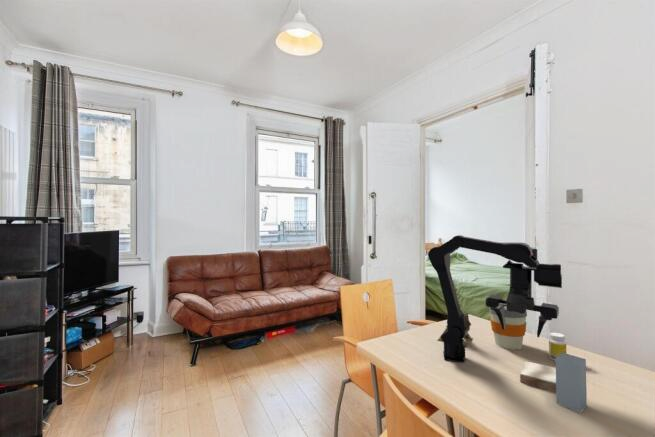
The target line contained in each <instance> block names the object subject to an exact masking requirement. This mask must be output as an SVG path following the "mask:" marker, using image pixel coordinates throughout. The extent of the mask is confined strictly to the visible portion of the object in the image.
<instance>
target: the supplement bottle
mask: <svg viewBox="0 0 655 437" xmlns="http://www.w3.org/2000/svg"><path fill="white" fill-rule="evenodd" d="M549 334H550V335H549V340H548V349H549V350H548V354H549V358H550V359H551V360H553V361H555V362H556V357H557V356H558V355H560V354H561V353H566V354H567V342H566V337H565V335H564V334H563V333H558V332H550V333H549Z"/></svg>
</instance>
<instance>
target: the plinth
mask: <svg viewBox="0 0 655 437" xmlns="http://www.w3.org/2000/svg"><path fill="white" fill-rule="evenodd" d="M519 378H520V380H519V382H520V383H524V384H527V385H530V386H533V387H538V388H542V389H546V390H548V391H552V392H556V367H551V366H547V365H543V364H540V363H534V362H530V361H526V360H524V361H523V363H522V366H521V370H520V373H519Z"/></svg>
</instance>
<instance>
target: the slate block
mask: <svg viewBox="0 0 655 437" xmlns="http://www.w3.org/2000/svg"><path fill="white" fill-rule="evenodd" d="M555 368H556V391H555V394H556V395H555V396H556V400H555V401H556V402H555V403H556V404H558V405H561V406H562V407H565V408H568V409H571V411H572V410H573V411H575V412H578V413H580V414H581V413H582V411H583V410H584V409H585V408H586V407H587V406H588V405H587V401H588V399H587V397H588V396H587V361H586V358H583V357H579V356H577V355H576V356H575V355H572V354H569V353H567V352H566V353H561V354H560V355H558V356H557V357H556V361H555Z"/></svg>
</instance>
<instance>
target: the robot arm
mask: <svg viewBox="0 0 655 437" xmlns="http://www.w3.org/2000/svg"><path fill="white" fill-rule="evenodd" d="M460 248H462V249H468V250H472V251H478V252H482V253H488V254H493V255H497V256H500V257H502V258H504V259H507V260H508V261H507V262H506V263H505V264H503V266H502V268H503V269H509V292H508V294H507V297H506V299H504V297H503V296H501V295H494V294H491V295H489V296H487V297H486V299H485V306H486V307H488V308H490V309H491V310H494V311H495V312H496V314H497V316H498V318H499V321H500V323H501V326H502V329H503V330H505V311H504V306H507V310H508V311H510V312H512V311H513V312H518V313H521V314H524V313H525V312H526V311H531V312H538V313H540V315H539V316H538V323H537V324H538V325H537V331H536V337H537V338H538V339H539V338H540V336H541V334H542V331H543V328H544V325H545V324H546V322H547V321H552V320H553V319H558V318H559V315H560V314H559V313H560V307H559V306H558V305H557V304H553V303H552V304H551V303H547V302H542V303H541V305H537V304H535V299H534V297H533V296H532V290H533V289H532V275H533V281H534V283H536V284H538V286H540V287H541V286H542V287H549V288H558V289H562V288H563V287H562V284H563V282H562V280H563V273H562V264H560V263H553V264H552V263H551V264H550V263H541V262H540V261H539V260H538V259H537V258H536V257H535V255H534V254H533V249H532V247H531V246H530V245H529V244H527V243H525V242H498V241H492V240H487V239H481V238H475V237H468V236H464V235H459V234H458V235H455V236H453V237H452V238H451V239H449V240H447V241H446V242H444V243H443V244H441V245H439V246H434V247H431V249H429V251H428V253H427V256H428V259H429V262H430V263H431V266H432V268H433V269H434V270H435V272H436V274H437V277H438V281H439V286H440V288H441V292H442V296H443V301H444V304H445V307H446V311H447V316H446V317H447V318H446V326H447V327H446V328H447V329H448V330H447V331H446V332H445V333H443V332H442V334H440V336H441V338H442V341H443V342H442V343H443V351H442V353H443V354H442V355H443V359H444V360H445V361H452V362H459V363H461V362H463V363H465V359H466V347H465V345H464V343H463V340H462V339H464V337H465V335H466V334H467V333H468V334H469V332H470V329H471V326H472V323H471V322H470V319H469V318H470V317H469V314H468V313H464V312H463V311H462V309H461V306H460V303H459V300H458V295H457V291H455V288H456V287H455V282H454V279H453V277H452V272H451V254H453V253H454V252H456V251H457V250H459V249H460ZM524 265H525V266H524ZM532 271H533V272H532ZM532 273H533V274H532Z"/></svg>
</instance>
